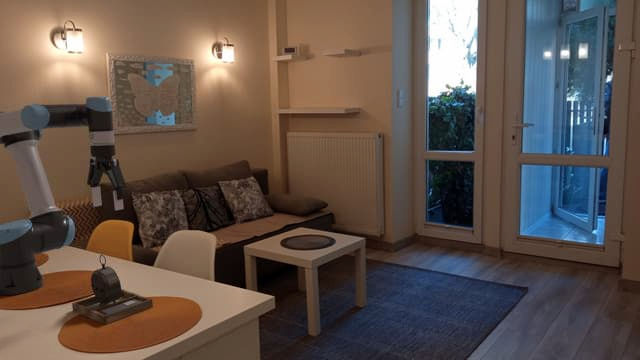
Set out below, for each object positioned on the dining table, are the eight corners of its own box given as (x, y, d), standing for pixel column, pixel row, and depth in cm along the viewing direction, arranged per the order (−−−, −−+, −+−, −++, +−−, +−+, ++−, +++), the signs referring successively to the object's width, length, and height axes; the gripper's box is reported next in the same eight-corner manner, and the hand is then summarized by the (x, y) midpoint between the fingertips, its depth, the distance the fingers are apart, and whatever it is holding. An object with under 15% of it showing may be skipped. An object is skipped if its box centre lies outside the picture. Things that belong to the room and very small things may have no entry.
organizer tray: (73, 313, 157) (71, 303, 157) (120, 297, 169) (119, 288, 169) (105, 327, 146) (104, 316, 146) (152, 309, 158) (152, 299, 158)
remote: (101, 317, 151) (101, 309, 151) (135, 305, 160) (134, 298, 159) (109, 320, 149) (108, 312, 148) (142, 308, 157) (142, 301, 157)
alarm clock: (124, 307, 158) (119, 255, 156) (107, 312, 154) (102, 259, 152) (106, 299, 165) (101, 250, 163) (89, 304, 161) (84, 254, 159)
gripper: (72, 144, 175) (78, 206, 178) (112, 145, 159) (118, 213, 162) (93, 143, 181) (99, 202, 183) (134, 144, 165) (139, 209, 168)
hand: (108, 207), depth 173 cm, fingers open, 13 cm apart
